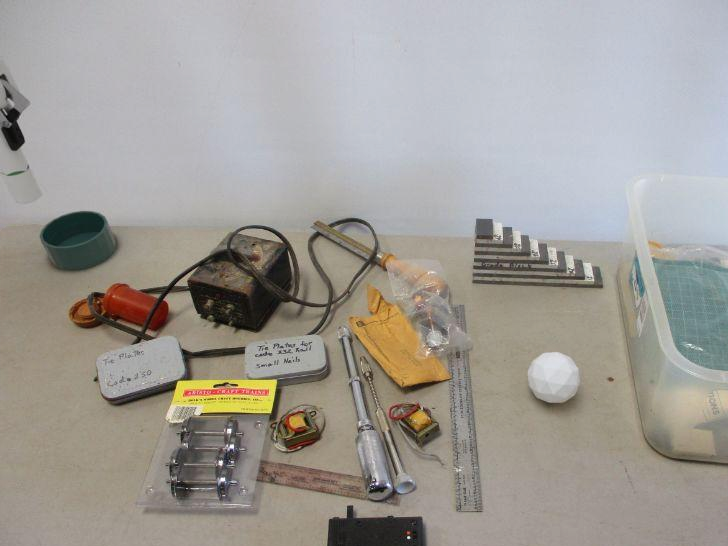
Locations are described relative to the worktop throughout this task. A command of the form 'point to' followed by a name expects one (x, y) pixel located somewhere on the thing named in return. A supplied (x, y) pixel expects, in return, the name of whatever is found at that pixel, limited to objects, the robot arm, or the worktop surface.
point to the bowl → (78, 240)
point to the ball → (553, 377)
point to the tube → (17, 173)
